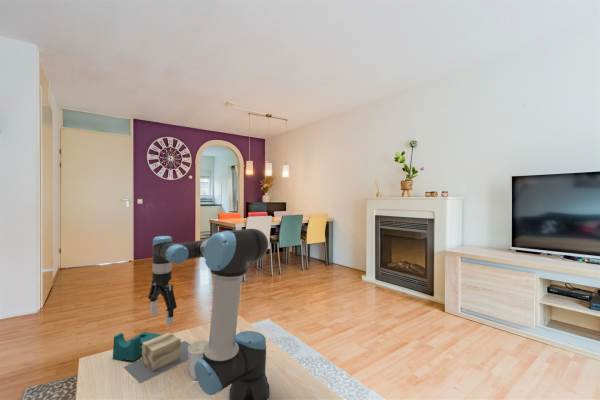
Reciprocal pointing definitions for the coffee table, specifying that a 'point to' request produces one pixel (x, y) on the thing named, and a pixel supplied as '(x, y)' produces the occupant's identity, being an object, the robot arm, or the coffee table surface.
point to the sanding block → (160, 351)
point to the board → (144, 373)
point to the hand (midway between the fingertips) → (161, 319)
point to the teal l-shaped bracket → (130, 346)
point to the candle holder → (195, 355)
